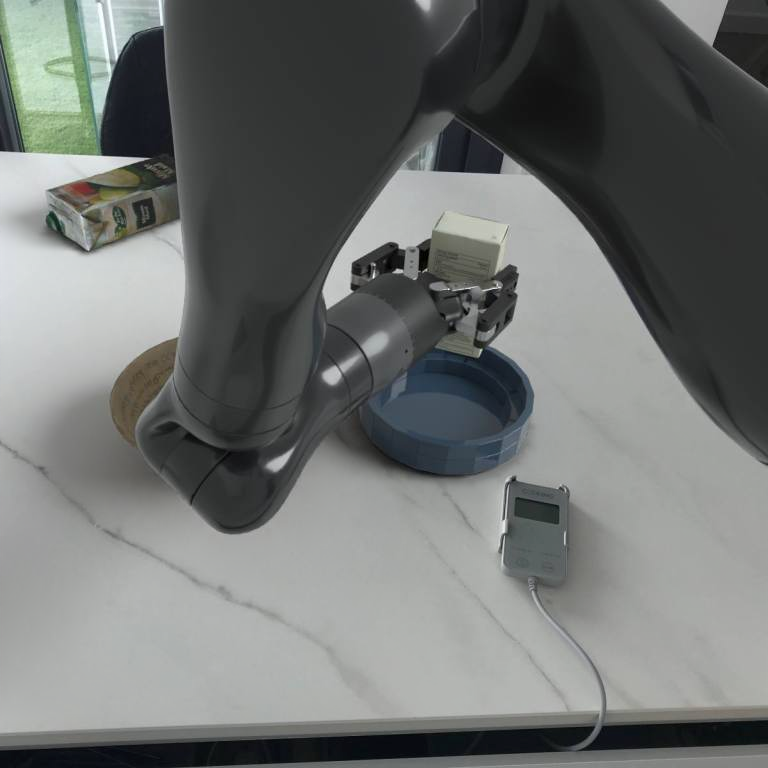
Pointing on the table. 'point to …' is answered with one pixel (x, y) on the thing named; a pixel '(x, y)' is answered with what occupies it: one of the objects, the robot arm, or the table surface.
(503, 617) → the table surface
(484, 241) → the cosmetic box
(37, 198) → the table surface
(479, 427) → the serving bowl
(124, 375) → the bowl
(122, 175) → the juice carton
